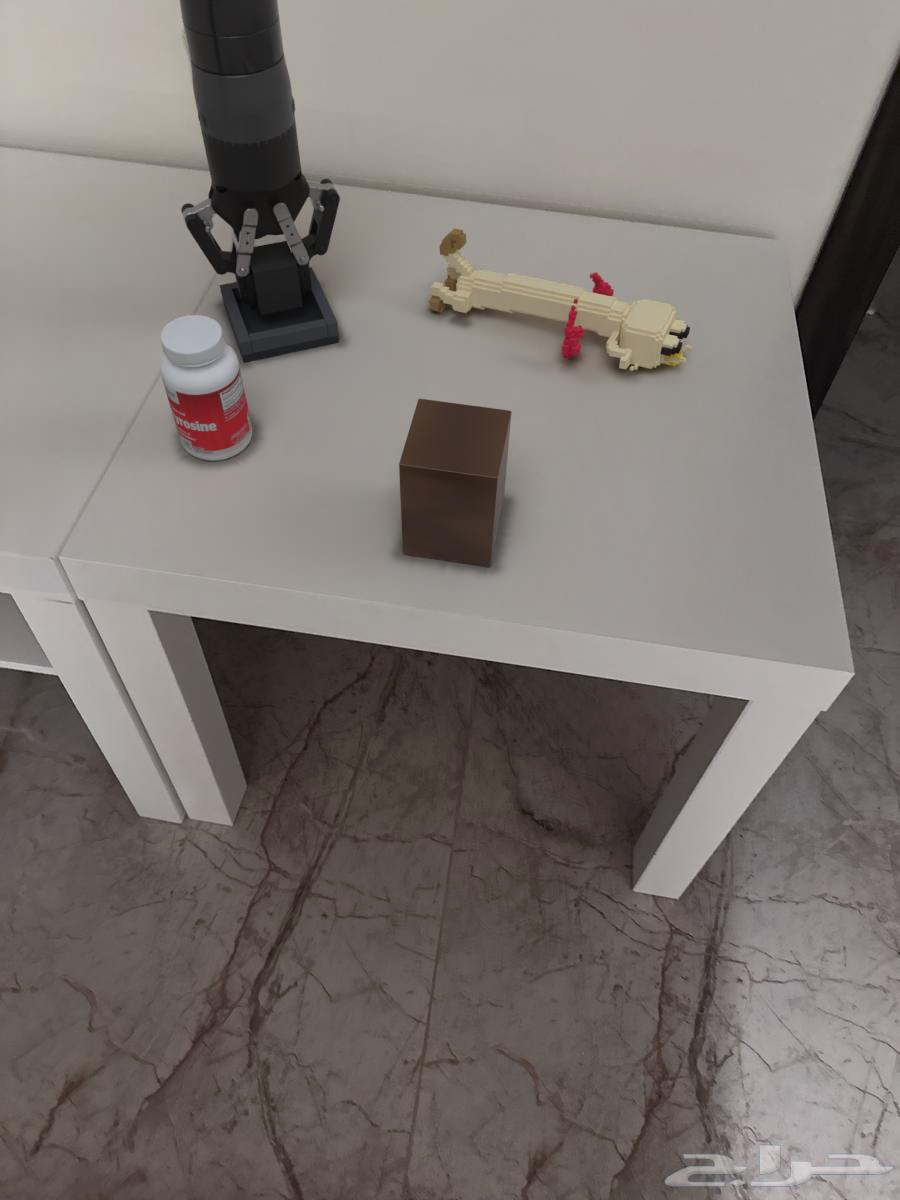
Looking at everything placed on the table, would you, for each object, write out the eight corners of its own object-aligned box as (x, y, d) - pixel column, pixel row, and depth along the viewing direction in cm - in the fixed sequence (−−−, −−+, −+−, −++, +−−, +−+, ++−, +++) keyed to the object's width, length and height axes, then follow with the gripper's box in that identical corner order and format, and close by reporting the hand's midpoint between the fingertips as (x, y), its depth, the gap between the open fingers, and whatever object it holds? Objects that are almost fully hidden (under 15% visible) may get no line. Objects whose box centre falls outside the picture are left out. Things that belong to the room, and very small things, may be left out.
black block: (260, 315, 86) (253, 273, 82) (251, 290, 88) (243, 248, 84) (302, 307, 87) (297, 264, 83) (292, 282, 89) (286, 240, 85)
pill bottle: (166, 445, 79) (132, 340, 70) (212, 404, 83) (186, 298, 74) (223, 473, 78) (195, 369, 69) (268, 430, 81) (247, 325, 72)
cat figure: (421, 337, 90) (671, 396, 83) (413, 255, 84) (684, 312, 76) (464, 282, 96) (702, 333, 88) (459, 201, 89) (717, 249, 81)
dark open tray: (243, 362, 86) (239, 342, 84) (223, 304, 91) (219, 284, 89) (339, 342, 88) (337, 322, 86) (314, 287, 93) (312, 266, 91)
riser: (402, 554, 73) (398, 464, 65) (420, 490, 77) (418, 397, 69) (490, 567, 72) (497, 478, 64) (503, 502, 76) (511, 410, 68)
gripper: (321, 80, 77) (338, 262, 91) (149, 106, 74) (194, 291, 88) (346, 123, 73) (360, 307, 87) (165, 153, 70) (209, 338, 84)
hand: (276, 298), depth 87 cm, fingers closed on black block, 4 cm apart
